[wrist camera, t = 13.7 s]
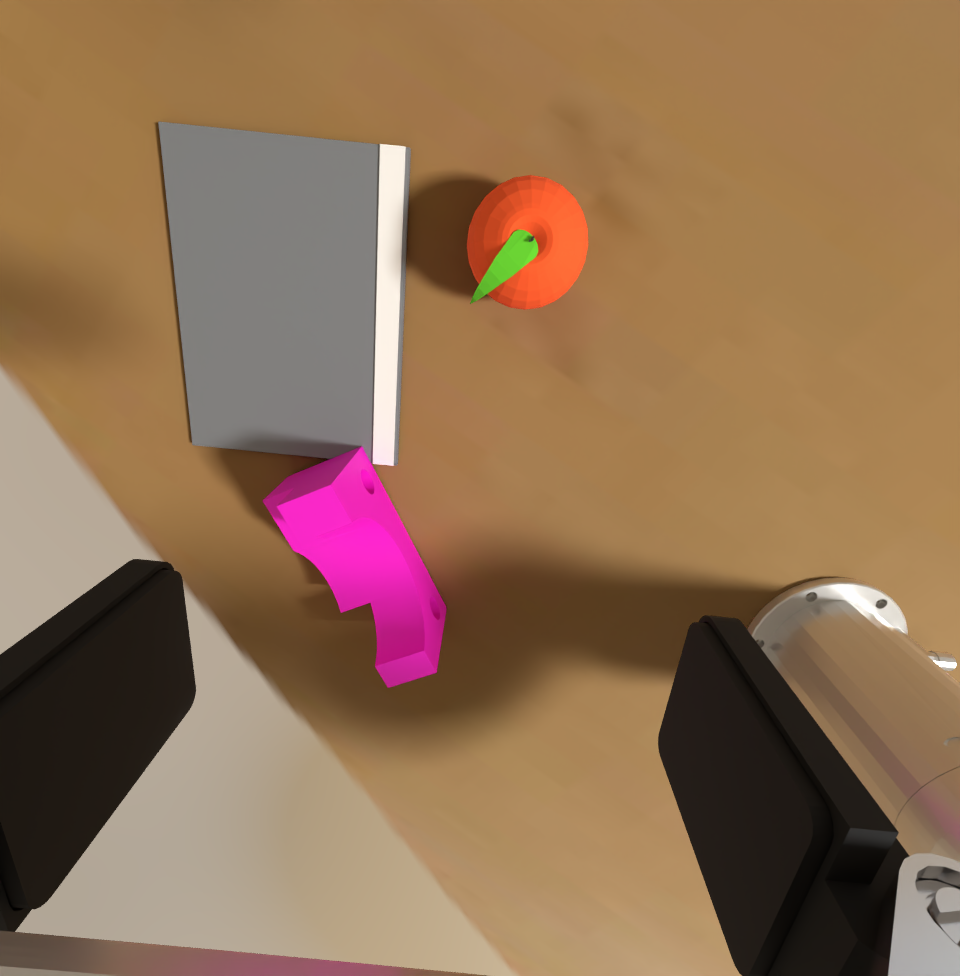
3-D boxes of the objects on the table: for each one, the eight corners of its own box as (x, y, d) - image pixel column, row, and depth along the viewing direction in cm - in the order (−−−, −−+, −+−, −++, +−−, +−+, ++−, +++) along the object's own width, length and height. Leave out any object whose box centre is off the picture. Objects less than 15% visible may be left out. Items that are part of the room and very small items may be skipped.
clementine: (509, 342, 35) (513, 353, 28) (435, 262, 33) (420, 254, 27) (601, 250, 33) (628, 239, 26) (526, 161, 31) (535, 125, 24)
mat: (410, 149, 31) (409, 147, 31) (397, 463, 38) (396, 466, 38) (162, 123, 31) (156, 120, 30) (195, 443, 38) (191, 445, 38)
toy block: (287, 476, 38) (241, 520, 31) (362, 446, 37) (330, 484, 30) (379, 630, 43) (356, 697, 36) (446, 607, 42) (436, 672, 35)
